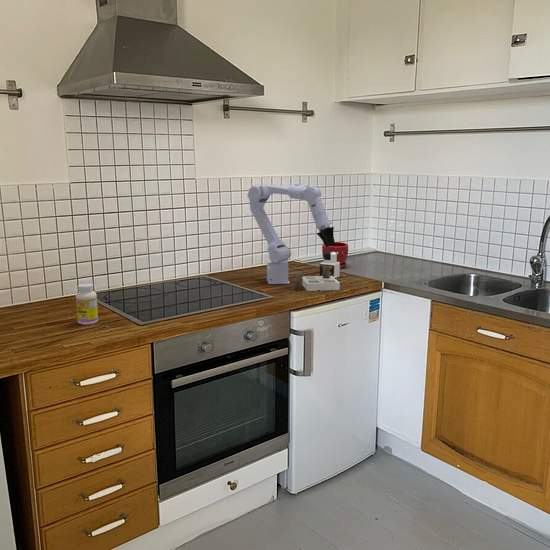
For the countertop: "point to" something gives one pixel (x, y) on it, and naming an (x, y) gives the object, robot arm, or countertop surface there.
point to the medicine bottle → (330, 264)
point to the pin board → (321, 281)
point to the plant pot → (338, 248)
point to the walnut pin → (298, 281)
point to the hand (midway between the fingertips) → (330, 245)
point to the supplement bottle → (86, 305)
